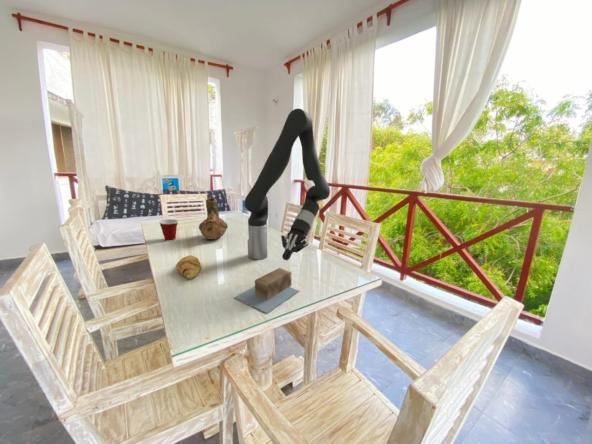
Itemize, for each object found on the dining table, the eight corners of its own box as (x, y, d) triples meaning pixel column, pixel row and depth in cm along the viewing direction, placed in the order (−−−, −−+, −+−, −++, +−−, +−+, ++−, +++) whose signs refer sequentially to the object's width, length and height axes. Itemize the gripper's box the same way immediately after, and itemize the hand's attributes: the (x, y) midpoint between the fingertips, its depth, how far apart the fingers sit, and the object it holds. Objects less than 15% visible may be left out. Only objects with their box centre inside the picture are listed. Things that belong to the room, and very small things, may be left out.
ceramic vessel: (198, 246, 145) (194, 203, 139) (201, 234, 170) (197, 196, 163) (229, 244, 150) (226, 202, 144) (227, 232, 174) (225, 195, 168)
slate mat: (266, 313, 83) (266, 312, 83) (234, 298, 93) (234, 297, 93) (299, 291, 97) (299, 290, 97) (268, 279, 107) (268, 278, 107)
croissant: (199, 286, 108) (207, 270, 108) (174, 281, 103) (183, 263, 102) (193, 267, 126) (200, 252, 126) (172, 261, 121) (180, 246, 121)
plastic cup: (175, 242, 153) (173, 222, 150) (157, 242, 153) (154, 222, 150) (183, 236, 163) (181, 218, 160) (166, 236, 163) (164, 218, 160)
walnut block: (291, 285, 101) (267, 300, 91) (279, 281, 105) (255, 295, 94) (291, 271, 100) (266, 285, 89) (279, 267, 103) (254, 280, 93)
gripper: (286, 215, 108) (267, 251, 101) (313, 220, 100) (294, 259, 94) (294, 225, 113) (276, 259, 107) (319, 230, 106) (302, 267, 99)
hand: (284, 259), depth 100 cm, fingers closed
